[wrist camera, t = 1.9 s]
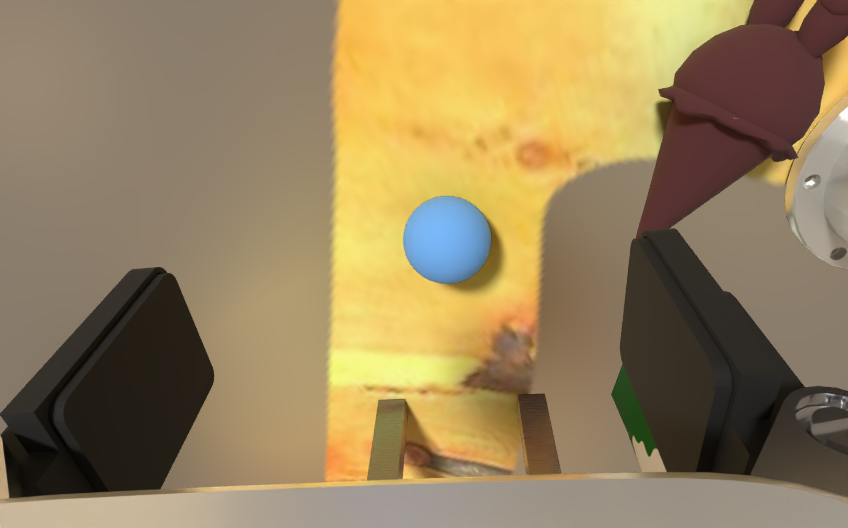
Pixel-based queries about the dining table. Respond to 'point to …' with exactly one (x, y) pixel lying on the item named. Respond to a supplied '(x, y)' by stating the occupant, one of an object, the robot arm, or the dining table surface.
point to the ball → (447, 239)
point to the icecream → (740, 104)
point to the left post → (388, 441)
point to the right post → (537, 435)
